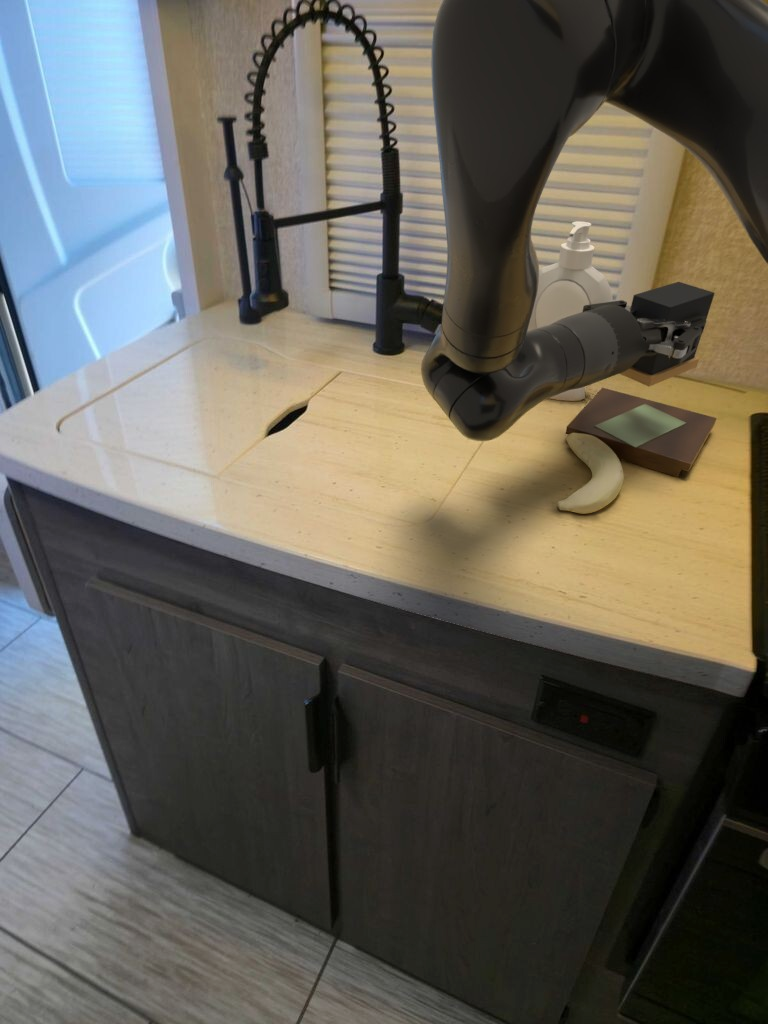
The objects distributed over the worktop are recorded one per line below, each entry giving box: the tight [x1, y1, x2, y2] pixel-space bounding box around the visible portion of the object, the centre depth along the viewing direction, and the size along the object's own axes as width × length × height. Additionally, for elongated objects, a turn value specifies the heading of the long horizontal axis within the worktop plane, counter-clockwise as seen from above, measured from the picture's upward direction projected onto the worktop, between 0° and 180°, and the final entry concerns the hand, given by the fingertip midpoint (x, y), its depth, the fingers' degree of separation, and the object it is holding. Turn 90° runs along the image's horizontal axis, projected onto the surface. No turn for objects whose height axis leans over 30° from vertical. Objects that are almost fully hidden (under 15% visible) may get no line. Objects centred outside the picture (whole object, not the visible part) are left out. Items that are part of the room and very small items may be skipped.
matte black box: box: [618, 281, 715, 387], centre depth 78 cm, size 10×6×9 cm, turn 126°
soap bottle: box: [527, 220, 614, 402], centre depth 93 cm, size 13×8×24 cm, turn 63°
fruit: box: [557, 433, 625, 515], centre depth 81 cm, size 7×15×3 cm, turn 164°
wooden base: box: [564, 387, 717, 478], centre depth 90 cm, size 16×14×3 cm
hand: (680, 316), depth 79 cm, fingers closed on matte black box, 5 cm apart
